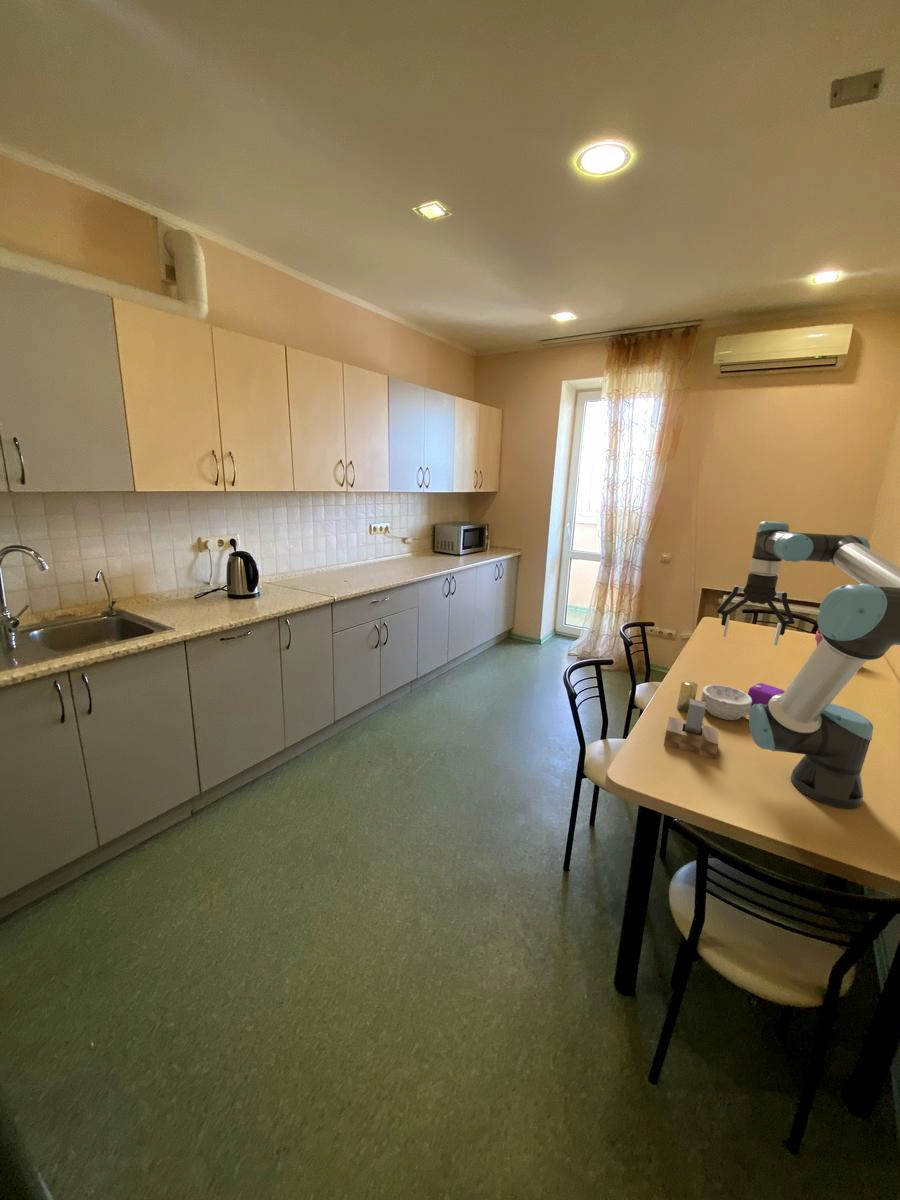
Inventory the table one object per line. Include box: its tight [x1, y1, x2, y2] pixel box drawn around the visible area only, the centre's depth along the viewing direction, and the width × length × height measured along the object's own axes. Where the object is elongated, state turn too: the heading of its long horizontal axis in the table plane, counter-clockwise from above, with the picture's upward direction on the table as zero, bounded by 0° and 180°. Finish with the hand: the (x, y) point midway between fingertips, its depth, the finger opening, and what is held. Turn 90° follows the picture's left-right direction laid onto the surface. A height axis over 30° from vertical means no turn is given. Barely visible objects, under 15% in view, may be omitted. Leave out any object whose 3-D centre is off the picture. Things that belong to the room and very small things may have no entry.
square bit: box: [684, 699, 706, 735], centre depth 144 cm, size 4×4×14 cm
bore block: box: [663, 716, 719, 760], centre depth 145 cm, size 14×10×5 cm
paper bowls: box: [700, 684, 752, 721], centre depth 165 cm, size 15×15×8 cm
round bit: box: [676, 680, 699, 714], centre depth 167 cm, size 5×5×10 cm
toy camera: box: [747, 682, 785, 707], centre depth 168 cm, size 11×14×10 cm
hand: (749, 639), depth 147 cm, fingers open, 13 cm apart
